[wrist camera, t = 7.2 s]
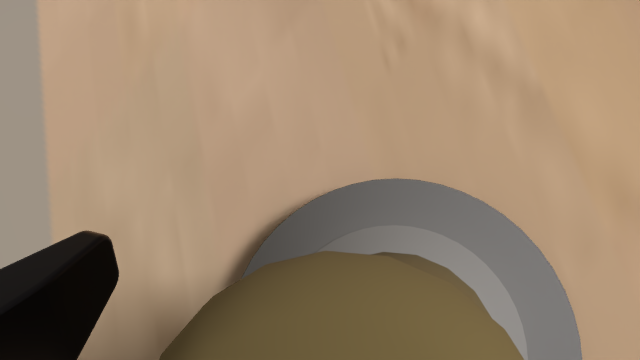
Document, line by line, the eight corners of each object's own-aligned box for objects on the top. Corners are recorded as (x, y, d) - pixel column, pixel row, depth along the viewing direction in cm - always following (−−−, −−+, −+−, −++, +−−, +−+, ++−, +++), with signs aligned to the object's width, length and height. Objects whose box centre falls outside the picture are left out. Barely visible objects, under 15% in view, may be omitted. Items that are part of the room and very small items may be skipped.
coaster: (494, 607, 15) (498, 627, 15) (181, 428, 18) (169, 435, 17) (629, 263, 16) (640, 262, 15) (313, 136, 19) (308, 128, 18)
